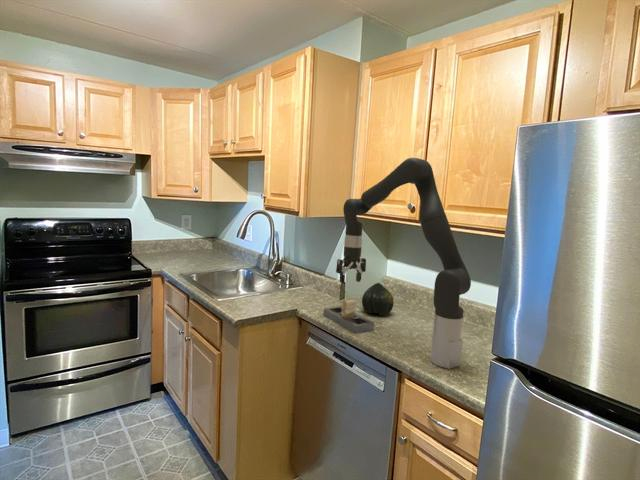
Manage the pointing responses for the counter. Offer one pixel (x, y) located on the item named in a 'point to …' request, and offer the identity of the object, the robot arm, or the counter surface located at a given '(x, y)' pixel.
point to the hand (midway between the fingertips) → (350, 282)
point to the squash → (377, 300)
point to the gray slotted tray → (349, 320)
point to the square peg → (348, 308)
